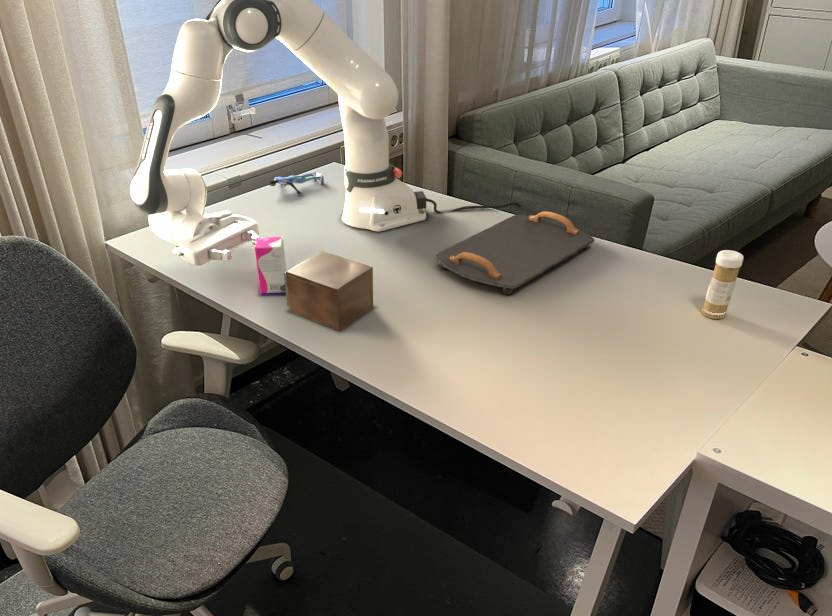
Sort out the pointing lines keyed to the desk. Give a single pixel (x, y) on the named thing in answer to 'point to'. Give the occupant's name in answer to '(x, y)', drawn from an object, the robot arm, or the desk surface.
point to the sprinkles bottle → (722, 283)
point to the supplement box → (270, 265)
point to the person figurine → (296, 180)
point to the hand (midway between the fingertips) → (244, 249)
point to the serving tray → (515, 250)
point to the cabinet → (330, 290)
